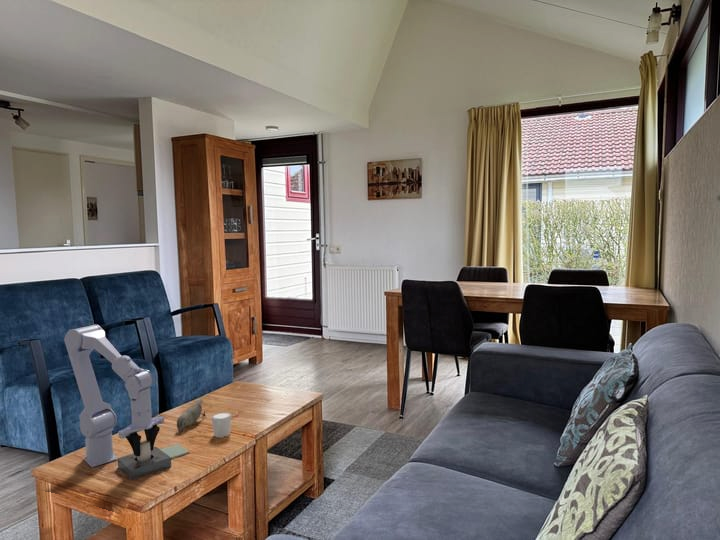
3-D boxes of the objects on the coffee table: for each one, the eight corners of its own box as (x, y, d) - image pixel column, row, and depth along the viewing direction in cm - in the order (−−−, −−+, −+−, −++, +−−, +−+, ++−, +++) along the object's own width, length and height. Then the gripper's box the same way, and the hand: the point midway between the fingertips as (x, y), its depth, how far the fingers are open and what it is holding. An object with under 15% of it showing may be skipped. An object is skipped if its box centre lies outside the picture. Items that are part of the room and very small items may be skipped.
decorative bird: (172, 432, 186) (171, 412, 186) (196, 417, 202) (195, 399, 202) (185, 433, 185) (184, 413, 185) (208, 418, 201) (207, 399, 200)
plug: (134, 465, 157) (133, 443, 157) (146, 461, 161) (145, 438, 160) (142, 468, 155) (141, 445, 155) (154, 463, 158) (152, 441, 158)
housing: (118, 467, 158) (117, 458, 158) (156, 455, 166) (155, 446, 166) (131, 480, 149) (131, 470, 149) (171, 466, 158) (170, 457, 158)
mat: (157, 451, 169) (157, 450, 169) (178, 445, 174) (177, 443, 174) (168, 459, 163) (168, 458, 163) (189, 452, 168) (189, 451, 167)
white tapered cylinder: (211, 432, 185) (210, 413, 184) (230, 429, 187) (230, 411, 187) (213, 439, 178) (212, 420, 178) (233, 436, 181) (232, 417, 180)
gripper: (127, 420, 148) (129, 464, 149) (169, 405, 161) (171, 446, 162) (113, 416, 152) (116, 459, 153) (155, 402, 164) (157, 442, 165)
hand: (143, 452), depth 158 cm, fingers closed on plug, 4 cm apart
